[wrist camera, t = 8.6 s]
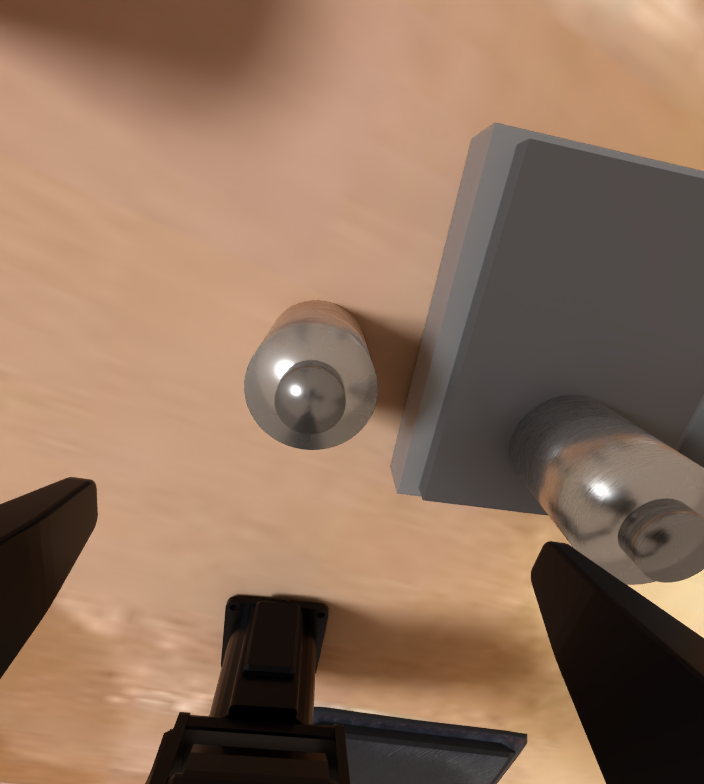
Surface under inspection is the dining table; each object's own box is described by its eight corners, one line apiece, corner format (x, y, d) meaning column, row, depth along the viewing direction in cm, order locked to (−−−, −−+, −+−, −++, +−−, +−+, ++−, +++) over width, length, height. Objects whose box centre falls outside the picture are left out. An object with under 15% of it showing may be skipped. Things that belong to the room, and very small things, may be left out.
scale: (651, 500, 24) (717, 555, 20) (390, 466, 22) (403, 518, 18) (808, 215, 18) (947, 209, 14) (471, 138, 16) (518, 106, 12)
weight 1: (356, 401, 20) (366, 471, 14) (263, 387, 20) (232, 454, 14) (374, 309, 19) (394, 346, 13) (273, 292, 18) (243, 321, 12)
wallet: (541, 754, 31) (464, 847, 36) (530, 726, 33) (458, 819, 38) (297, 719, 28) (251, 827, 33) (299, 691, 30) (255, 797, 35)
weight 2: (589, 493, 19) (711, 616, 13) (495, 481, 18) (576, 603, 12) (631, 403, 17) (796, 495, 11) (529, 387, 17) (643, 475, 11)
